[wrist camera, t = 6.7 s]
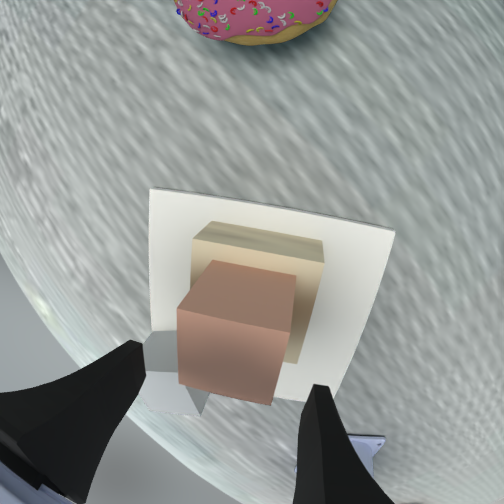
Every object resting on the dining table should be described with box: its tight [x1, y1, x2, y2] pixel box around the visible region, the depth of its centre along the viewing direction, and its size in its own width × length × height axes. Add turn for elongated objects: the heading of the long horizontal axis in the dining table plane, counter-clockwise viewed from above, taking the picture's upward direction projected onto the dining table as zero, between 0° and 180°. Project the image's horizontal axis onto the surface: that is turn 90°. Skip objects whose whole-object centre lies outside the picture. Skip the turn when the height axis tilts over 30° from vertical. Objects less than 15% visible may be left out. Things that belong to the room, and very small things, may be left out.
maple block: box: [190, 221, 325, 364], centre depth 19 cm, size 7×7×4 cm
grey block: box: [139, 330, 210, 416], centre depth 21 cm, size 4×4×5 cm
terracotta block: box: [177, 260, 296, 406], centre depth 15 cm, size 4×4×5 cm
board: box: [149, 187, 396, 402], centre depth 22 cm, size 16×16×1 cm
